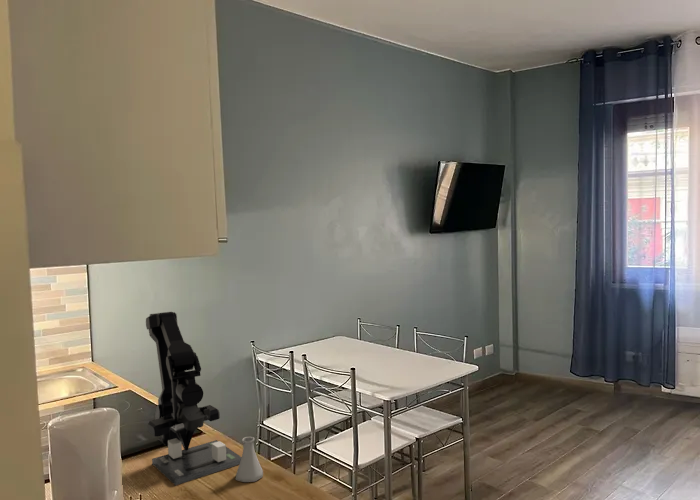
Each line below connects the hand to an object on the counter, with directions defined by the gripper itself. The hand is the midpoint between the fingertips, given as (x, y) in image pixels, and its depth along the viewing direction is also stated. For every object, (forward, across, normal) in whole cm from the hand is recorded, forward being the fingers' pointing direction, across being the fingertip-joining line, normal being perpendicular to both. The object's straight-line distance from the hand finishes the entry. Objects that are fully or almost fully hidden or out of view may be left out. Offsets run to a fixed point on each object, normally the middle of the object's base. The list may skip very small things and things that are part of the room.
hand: (186, 450), depth 159 cm
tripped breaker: (+1, -3, 0) cm, 3 cm away
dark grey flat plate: (+2, +1, -5) cm, 6 cm away
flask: (+3, +8, -21) cm, 23 cm away
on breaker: (+1, +5, -10) cm, 11 cm away
